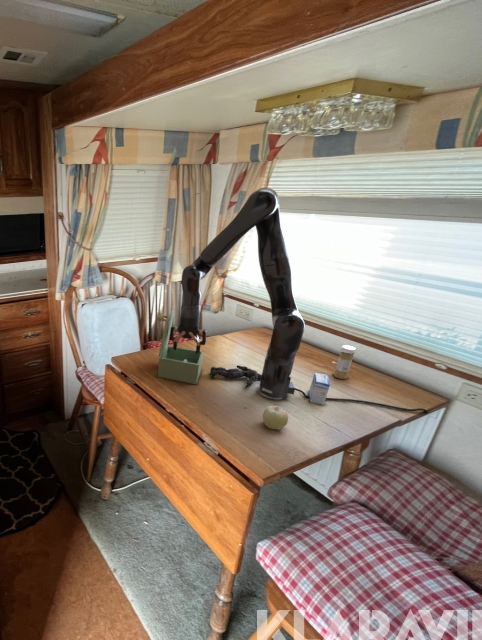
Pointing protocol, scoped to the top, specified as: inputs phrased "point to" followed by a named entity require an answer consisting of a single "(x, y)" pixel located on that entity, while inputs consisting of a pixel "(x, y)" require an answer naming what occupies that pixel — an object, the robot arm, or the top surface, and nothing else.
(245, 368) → the robot figurine
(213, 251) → the robot arm
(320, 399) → the medicine box
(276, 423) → the fruit
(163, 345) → the lid
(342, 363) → the sprinkles bottle
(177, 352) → the chest
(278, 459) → the top surface
